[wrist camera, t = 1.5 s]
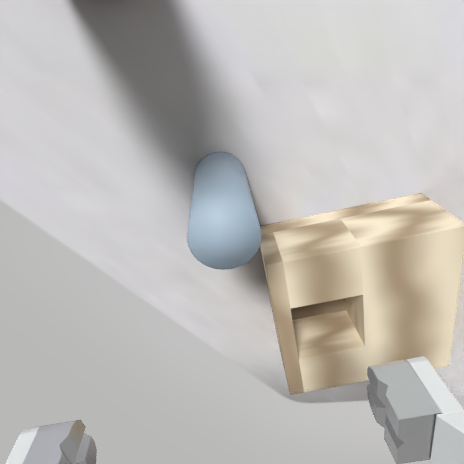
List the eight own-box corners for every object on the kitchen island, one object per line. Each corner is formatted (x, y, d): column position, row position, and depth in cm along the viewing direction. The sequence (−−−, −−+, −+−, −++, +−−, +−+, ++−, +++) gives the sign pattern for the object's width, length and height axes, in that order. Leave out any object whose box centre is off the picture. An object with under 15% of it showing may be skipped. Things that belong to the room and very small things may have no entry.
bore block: (421, 193, 29) (467, 225, 24) (414, 318, 36) (449, 365, 31) (255, 227, 30) (265, 266, 25) (278, 344, 37) (290, 394, 31)
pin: (240, 146, 27) (254, 197, 18) (249, 194, 29) (266, 261, 20) (189, 158, 27) (178, 212, 18) (201, 204, 29) (197, 275, 20)
